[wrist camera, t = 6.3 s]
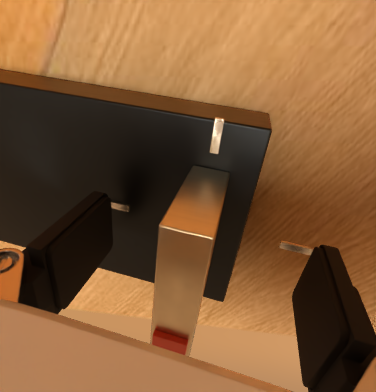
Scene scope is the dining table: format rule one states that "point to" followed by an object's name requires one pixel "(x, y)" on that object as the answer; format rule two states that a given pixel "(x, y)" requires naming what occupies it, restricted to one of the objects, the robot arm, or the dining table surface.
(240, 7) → the dining table surface
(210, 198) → the tan block
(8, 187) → the dial panel
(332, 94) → the dining table surface
